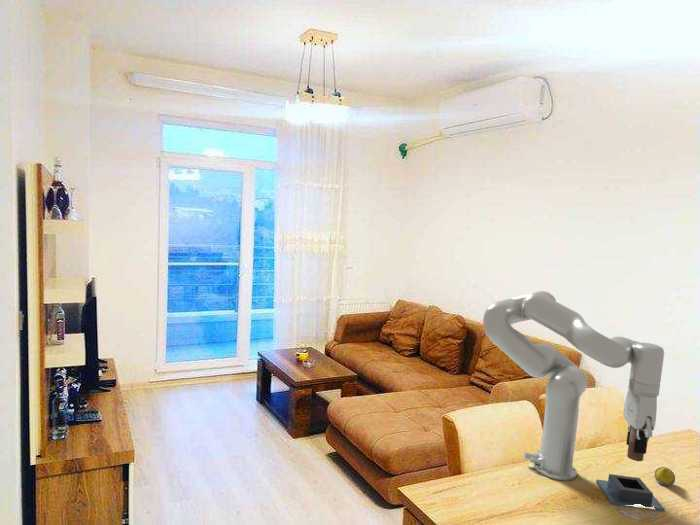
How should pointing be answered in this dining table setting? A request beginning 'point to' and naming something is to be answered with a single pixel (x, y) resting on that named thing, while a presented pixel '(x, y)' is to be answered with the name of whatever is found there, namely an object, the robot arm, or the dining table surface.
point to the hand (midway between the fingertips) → (635, 448)
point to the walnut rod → (631, 453)
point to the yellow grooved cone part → (664, 476)
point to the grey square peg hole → (628, 492)
